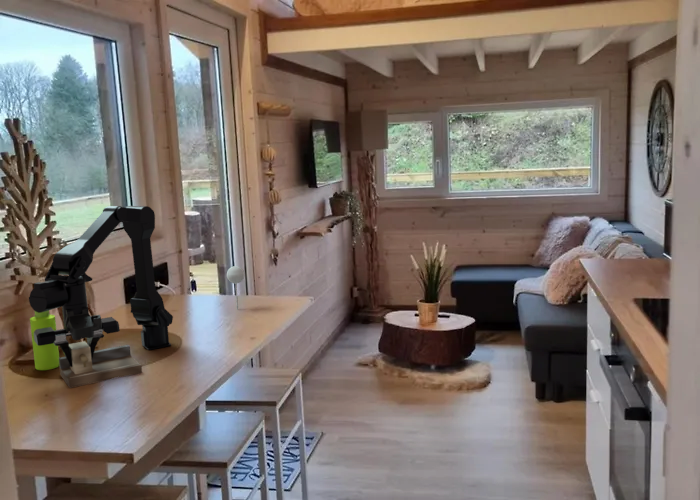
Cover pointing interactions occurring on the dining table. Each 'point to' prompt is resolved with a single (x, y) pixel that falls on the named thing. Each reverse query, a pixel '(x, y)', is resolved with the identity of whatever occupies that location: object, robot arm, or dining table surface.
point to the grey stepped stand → (102, 367)
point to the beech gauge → (80, 357)
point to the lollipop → (235, 277)
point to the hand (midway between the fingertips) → (80, 364)
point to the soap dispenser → (44, 354)
